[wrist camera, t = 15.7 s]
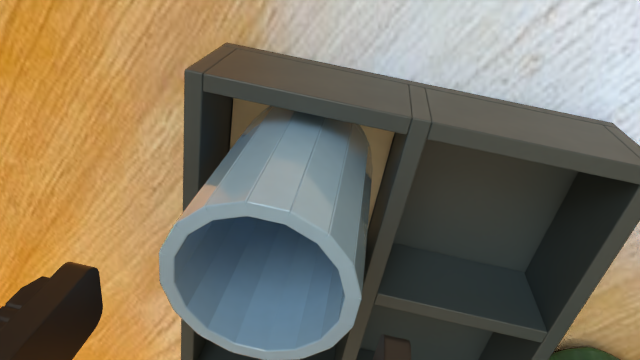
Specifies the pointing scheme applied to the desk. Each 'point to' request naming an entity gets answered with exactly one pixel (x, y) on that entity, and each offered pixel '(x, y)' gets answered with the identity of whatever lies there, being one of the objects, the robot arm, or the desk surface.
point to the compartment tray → (440, 203)
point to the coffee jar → (582, 354)
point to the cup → (275, 239)
